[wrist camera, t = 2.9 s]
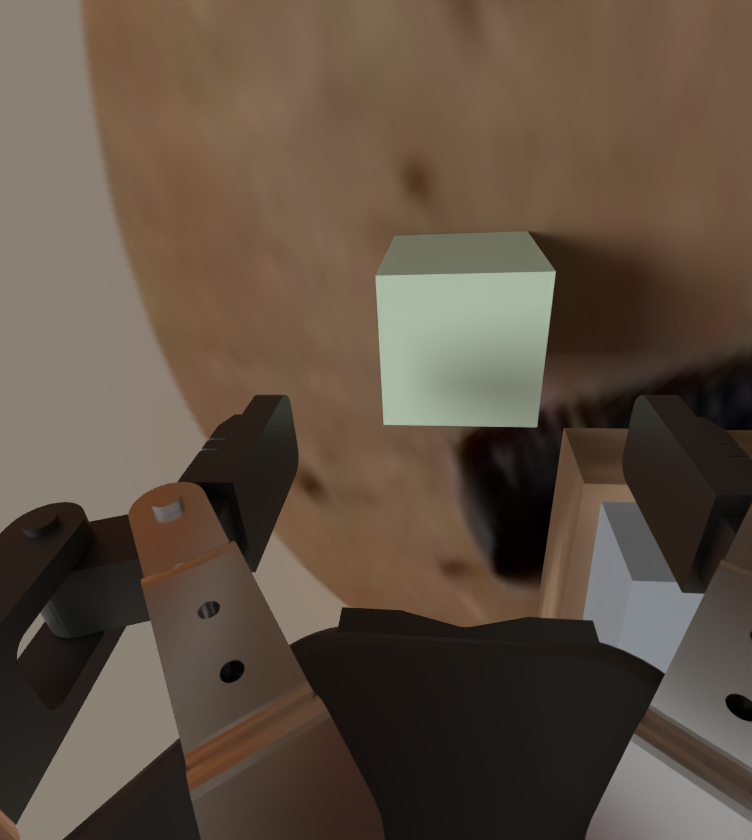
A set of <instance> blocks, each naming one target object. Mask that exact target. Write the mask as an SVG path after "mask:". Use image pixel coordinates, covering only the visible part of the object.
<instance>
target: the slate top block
mask: <svg viewBox="0 0 752 840" xmlns="http://www.w3.org/2000/svg"><path fill="white" fill-rule="evenodd" d="M703 596H704V594H697V593H682V592H681V590H680V588H679V586H678V584H677V582H676V580H675V578H674V576H673V574H672V572H671V570H670V568H669V566H668V564H667V562H666V560H665V558H664V556H663V554H662V552H661V550H660V548H659V546H658V544H657V542H656V540H655V538H654V536H653V534H652V532H651V530H650V529H649V527H648V525H647V523H646V521H645V519H644V517H643V515H642V513H641V511H640V509H639V507H638V505H637V503H636V502H601V507H600V513H599V520H598V526H597V532H596V539H595V545H594V551H593V558H592V564H591V570H590V577H589V583H588V589H587V596H586V602H585V608H584V615H583V620H593V622H594V625H595V629H596V632H597V635H598V639H599V642H602V643H605V644H608V645H611V646H614V647H616V648H619V649H622V650H624V651H626V652H628V653H630V654H633V655H635V656H637V657H639V658H641V659H643V660H644V661H646V662H648V663H649V664H651V665H653V666H654V667H656V668H658V669H659V670H661V671H662V672H663V673H666V671H667V669H668V667H669V665H670V663H671V661H672V659H673V657H674V655H675V653H676V651H677V649H678V647H679V645H680V643H681V641H682V639H683V637H684V635H685V633H686V631H687V629H688V626H689V624H690V622H691V620H692V618H693V616H694V614H695V612H696V610H697V608H698V606H699V604H700V602H701V600H702V598H703Z"/></svg>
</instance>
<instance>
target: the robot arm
mask: <svg viewBox="0 0 752 840" xmlns="http://www.w3.org/2000/svg"><path fill="white" fill-rule="evenodd" d="M738 445H739V444H738V443H737V442H736V441H735V440H734V439H733V438H732V437H731V435H730V434H729V433H728V432H727V431H726V430H725V429H723V428H721V427H720V426H718V425H716V424H715V423H713V422H711V421H709V420H708V419H706V418H704V417H697V416H696V415H695V414H694V413H693V412H692V411H691V410H690V408H689V407H688V406H687V405H686V404H685V403H684V401H683V400H682V399H681V398H680V397H679V396H677V395H640V396H639V397H638V398H637V399H636V401H635V403H634V407H633V411H632V416H631V420H630V425H629V429H628V434H627V438H626V443H625V447H624V452H623V459H622V467H623V475H624V478H625V481H626V483H627V485H628V487H629V489H630V491H631V493H632V495H633V497H634V499H635V501H636V503H637V505H638V507H639V509H640V511H641V513H642V515H643V517H644V519H645V521H646V523H647V525H648V527H649V529H650V530H651V532H652V534H653V536H654V538H655V540H656V542H657V544H658V546H659V548H660V550H661V552H662V554H663V556H664V558H665V560H666V562H667V564H668V566H669V568H670V570H671V572H672V574H673V576H674V578H675V580H676V582H677V584H678V586H679V588H680V590H681V592H682V593H697V594H704V596H703V598H702V600H701V602H700V604H699V606H698V608H697V610H696V612H695V614H694V616H693V618H692V620H691V622H690V624H689V626H688V629H687V631H686V633H685V635H684V637H683V639H682V641H681V643H680V645H679V647H678V649H677V651H676V653H675V655H674V657H673V659H672V661H671V663H670V665H669V667H668V669H667V671H666V673H663V672H662V671H661V670H659V669H658V668H656V667H654V666H653V665H651V664H649V663H648V662H646V661H644V660H643V659H641V658H639V657H637V656H635V655H633V654H630V653H628V652H626V651H624V650H622V649H619V648H616V647H614V646H611V645H608V644H605V643H602V642H599V639H598V635H597V632H596V629H595V625H594V622H593V620H574V619H555V618H536V617H526V618H520V619H515V620H509V621H503V622H497V623H491V624H486V625H480V626H474V627H459V626H455V625H451V624H448V623H444V622H441V621H437V620H433V619H430V618H426V617H423V616H419V615H416V614H412V613H408V612H405V611H401V610H383V609H364V608H345V607H344V608H343V607H342V611H341V616H340V621H339V626H338V627H334V628H329V629H326V630H322V631H319V632H316V633H313V634H311V635H308V636H306V637H303V638H302V639H299V640H298V641H296V642H294V643H292V644H290V645H289V644H288V642H287V640H286V639H285V636H284V635H283V633H282V631H281V629H280V627H279V625H278V623H277V621H276V619H275V617H274V615H273V613H272V611H271V610H270V607H269V605H268V604H267V601H266V600H265V598H264V596H263V594H262V592H261V590H260V588H259V586H258V584H257V582H256V580H255V578H254V576H253V574H252V572H256V570H257V567H258V565H259V562H260V560H261V558H262V555H263V553H264V550H265V548H266V545H267V543H268V541H269V538H270V536H271V533H272V531H273V529H274V526H275V524H276V521H277V519H278V516H279V514H280V512H281V509H282V507H283V504H284V502H285V499H286V497H287V495H288V492H289V490H290V487H291V485H292V483H293V480H294V478H295V475H296V472H297V468H298V446H297V440H296V434H295V428H294V422H293V416H292V410H291V404H290V400H289V398H288V396H287V395H256V396H254V398H253V399H252V401H251V402H250V404H249V405H248V406H247V408H246V409H245V411H244V412H243V414H242V415H233V416H232V417H230V418H229V419H228V420H226V421H225V422H223V423H222V424H220V425H219V426H218V427H217V428H216V430H215V431H214V433H213V434H212V435H211V437H210V440H209V441H207V442H206V443H205V445H204V446H203V448H202V451H200V452H199V453H198V455H197V456H196V457H195V459H194V460H193V461H192V463H191V464H190V465H189V467H188V468H187V469H186V471H185V472H184V474H183V475H182V476H181V478H180V479H179V481H178V482H175V483H169V484H166V485H162V486H159V487H156V488H154V489H152V490H150V491H148V492H146V493H145V494H143V495H142V496H141V497H139V498H138V499H137V500H136V501H135V502H134V503H133V505H132V506H131V508H130V510H129V514H127V515H123V516H117V517H112V518H107V519H101V520H96V521H91V522H89V521H88V519H87V516H86V514H85V512H84V510H83V508H82V507H81V506H79V505H77V504H75V503H70V502H61V503H54V504H49V505H45V506H42V507H39V508H36V509H34V510H32V511H30V512H28V513H26V514H24V515H22V516H21V517H19V518H17V519H16V520H15V521H14V522H12V523H11V524H10V525H9V526H8V527H6V528H5V529H4V531H2V532H1V534H0V840H20V835H19V832H18V829H17V827H16V824H17V822H18V820H19V819H20V817H21V815H22V813H23V811H24V810H25V808H26V806H27V804H28V802H29V801H30V799H31V797H32V795H33V793H34V792H35V790H36V788H37V786H38V784H39V783H40V781H41V779H42V777H43V775H44V773H45V772H46V770H47V768H48V766H49V764H50V763H51V761H52V759H53V757H54V755H55V754H56V752H57V750H58V748H59V746H60V745H61V743H62V741H63V739H64V737H65V736H66V734H67V732H68V730H69V728H70V727H71V724H72V723H73V721H74V719H75V718H76V716H77V714H78V712H79V710H80V709H81V707H82V705H83V703H84V701H85V700H86V698H87V696H88V694H89V692H90V691H91V689H92V687H93V685H94V683H95V682H96V680H97V678H98V676H99V674H100V672H101V671H102V669H103V667H104V665H105V663H106V662H107V660H108V658H109V656H110V655H111V653H112V651H113V649H114V647H115V646H116V644H117V642H118V640H119V638H120V636H121V635H122V633H123V631H124V629H125V628H126V626H128V625H133V624H136V623H141V622H145V621H151V624H152V629H153V633H154V637H155V641H156V644H157V649H158V653H159V657H160V661H161V665H162V669H163V673H164V677H165V681H166V685H167V689H168V693H169V697H170V701H171V705H172V709H173V713H174V717H175V721H176V725H177V729H178V733H179V737H180V738H179V739H177V740H176V741H175V742H174V743H173V744H172V745H171V746H170V747H168V748H167V749H166V750H165V751H164V752H163V753H162V754H160V755H159V756H158V757H157V758H156V759H155V760H153V761H152V762H151V763H150V764H149V765H148V766H147V767H145V768H144V769H143V770H142V771H141V772H140V773H139V774H137V775H136V776H135V777H134V778H133V779H132V780H130V781H129V782H128V783H127V784H126V785H125V786H124V787H122V788H121V789H120V790H119V791H118V792H117V793H116V794H114V795H113V796H112V797H111V798H110V799H109V800H108V801H106V802H105V803H104V804H103V805H102V806H101V807H100V808H98V809H97V810H96V811H95V812H94V813H93V814H91V815H90V816H89V817H88V818H87V819H86V820H85V821H83V822H82V824H80V825H79V826H78V827H77V828H75V829H74V830H73V831H72V832H71V833H70V834H69V835H68V836H66V837H65V838H64V839H63V840H752V459H750V458H749V457H750V456H749V455H748V454H747V453H746V452H745V451H744V450H743V449H742V447H738ZM39 613H41V615H42V616H43V618H44V620H45V622H44V624H43V625H42V627H41V628H40V629H39V631H38V632H37V633H36V635H35V636H34V638H33V639H32V640H31V642H30V643H29V644H28V646H27V647H26V649H25V650H24V651H23V653H22V654H21V656H20V657H19V658H18V660H17V651H18V647H19V643H20V641H21V639H22V637H23V635H24V634H25V632H26V631H27V630H28V628H29V627H30V625H31V624H32V623H33V621H34V620H35V619H36V617H37V616H38V615H39Z"/></svg>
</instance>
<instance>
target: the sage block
mask: <svg viewBox="0 0 752 840" xmlns="http://www.w3.org/2000/svg"><path fill="white" fill-rule="evenodd" d="M555 274H556V271H555V270H554V268H553V267H552V265H551V264H550V263H549V261H548V260H547V258H546V257H545V255H544V254H543V253H542V251H541V250H540V248H539V247H538V245H537V244H536V243H535V241H534V240H533V238H532V237H531V236H530V234H529V233H528V231H520V232H490V233H460V234H430V235H400V236H394V238H393V240H392V242H391V245H390V247H389V249H388V251H387V253H386V255H385V257H384V259H383V261H382V263H381V266H380V268H379V270H378V272H377V274H376V291H377V309H378V327H379V346H380V364H381V382H382V400H383V419H384V425H432V426H492V427H537V422H538V414H539V406H540V398H541V390H542V381H543V373H544V365H545V357H546V348H547V340H548V332H549V324H550V315H551V307H552V299H553V291H554V282H555Z"/></svg>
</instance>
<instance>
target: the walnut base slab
mask: <svg viewBox="0 0 752 840" xmlns="http://www.w3.org/2000/svg"><path fill="white" fill-rule="evenodd" d="M726 431H727V432H728V433H729V434H730V435H731V437H732V438H733V439H734V440H735V441H736V442H737V443H738V444H739V445H738V447H742V449H743V450H744V451H745V452H746V453H747V454H748V455H749V456H750V457H749V458H750V459H752V430H726ZM627 434H628V429H608V428H564V431H563V438H562V445H561V451H560V458H559V465H558V472H557V479H556V485H555V492H554V499H553V506H552V512H551V519H550V526H549V533H548V539H547V546H546V553H545V560H544V567H543V573H542V580H541V587H540V594H539V600H538V613H539V618H555V619H574V620H583V615H584V608H585V602H586V596H587V589H588V583H589V577H590V570H591V564H592V558H593V551H594V545H595V539H596V532H597V526H598V520H599V513H600V507H601V502H636V501H635V499H634V497H633V495H632V493H631V491H630V489H629V487H628V485H627V483H626V481H625V478H624V475H623V467H622V459H623V452H624V447H625V443H626V438H627Z"/></svg>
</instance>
